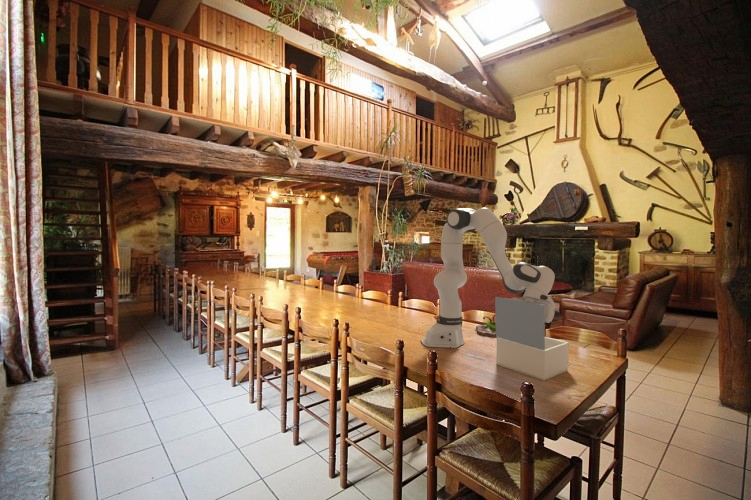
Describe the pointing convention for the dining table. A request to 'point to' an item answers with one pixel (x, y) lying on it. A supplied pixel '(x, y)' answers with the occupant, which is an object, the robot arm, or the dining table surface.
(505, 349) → the shipping carton
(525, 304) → the carton flap
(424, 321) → the dining table surface
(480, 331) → the succulent planter
